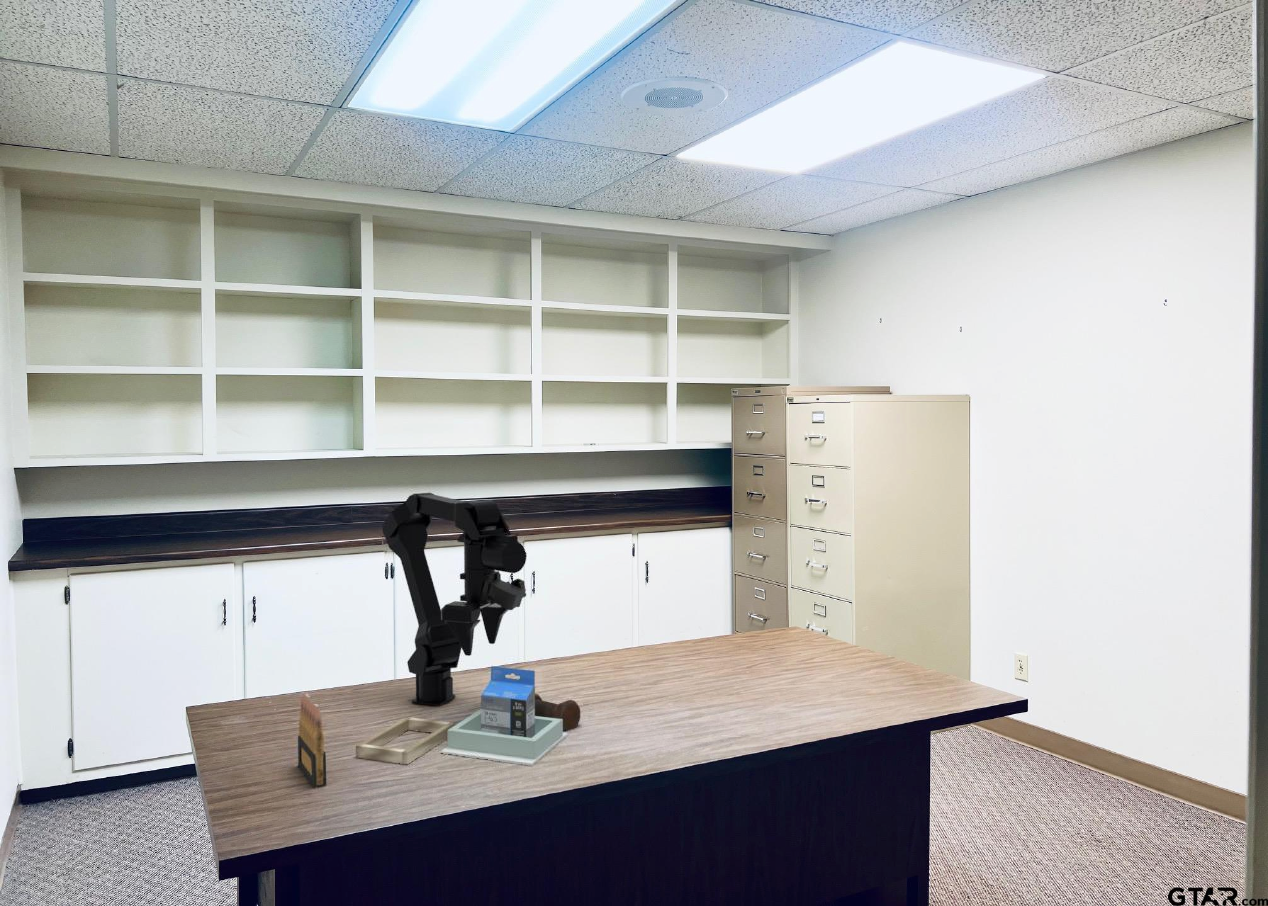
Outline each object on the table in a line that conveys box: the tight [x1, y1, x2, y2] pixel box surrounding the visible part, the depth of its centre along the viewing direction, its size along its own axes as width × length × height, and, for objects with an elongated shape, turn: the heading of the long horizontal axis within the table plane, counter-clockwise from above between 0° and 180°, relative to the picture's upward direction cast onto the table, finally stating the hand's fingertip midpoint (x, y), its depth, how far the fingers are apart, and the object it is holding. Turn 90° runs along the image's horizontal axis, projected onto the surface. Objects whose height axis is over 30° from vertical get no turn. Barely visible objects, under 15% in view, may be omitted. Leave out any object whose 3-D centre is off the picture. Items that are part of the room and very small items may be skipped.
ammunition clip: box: [297, 693, 327, 789], centre depth 139 cm, size 11×2×12 cm, turn 33°
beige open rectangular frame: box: [355, 716, 456, 765], centre depth 152 cm, size 10×15×2 cm, turn 161°
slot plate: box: [440, 709, 569, 767], centre depth 152 cm, size 17×15×3 cm
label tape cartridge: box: [480, 665, 536, 738], centre depth 152 cm, size 9×4×12 cm, turn 71°
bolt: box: [535, 693, 582, 732], centre depth 164 cm, size 6×5×15 cm
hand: (480, 649), depth 166 cm, fingers open, 9 cm apart
